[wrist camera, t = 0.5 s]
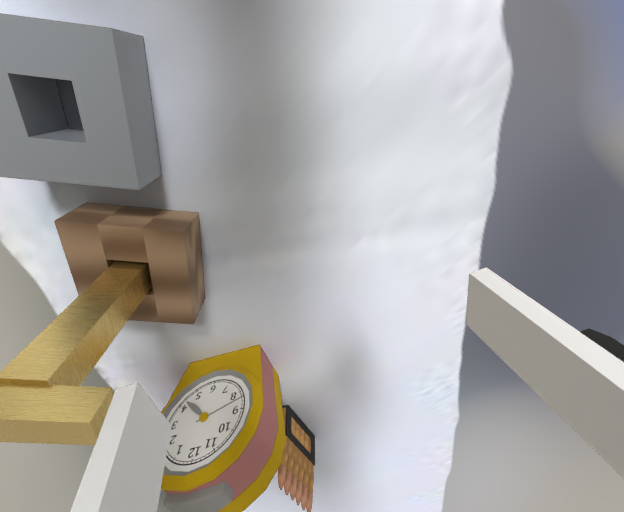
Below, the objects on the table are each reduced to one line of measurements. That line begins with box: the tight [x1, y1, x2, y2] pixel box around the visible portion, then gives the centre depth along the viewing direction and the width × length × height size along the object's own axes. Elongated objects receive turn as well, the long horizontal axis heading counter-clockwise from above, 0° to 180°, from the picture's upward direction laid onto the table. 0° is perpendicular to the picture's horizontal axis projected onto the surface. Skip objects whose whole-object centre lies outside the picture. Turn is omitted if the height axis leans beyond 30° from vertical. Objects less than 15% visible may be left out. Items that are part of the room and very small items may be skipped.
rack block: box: [0, 13, 161, 190], centre depth 27 cm, size 12×12×5 cm
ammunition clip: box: [278, 405, 315, 512], centre depth 50 cm, size 11×2×12 cm, turn 26°
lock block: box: [54, 203, 205, 324], centre depth 35 cm, size 12×12×5 cm
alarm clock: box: [161, 345, 286, 512], centre depth 39 cm, size 15×8×18 cm, turn 109°
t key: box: [0, 260, 152, 445], centre depth 28 cm, size 3×11×21 cm, turn 84°
